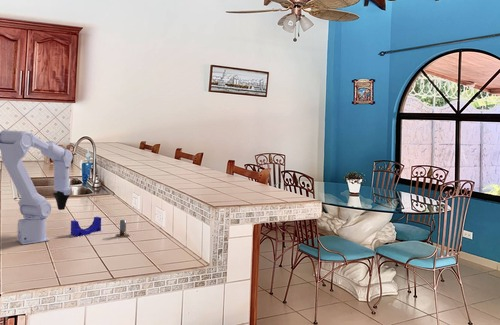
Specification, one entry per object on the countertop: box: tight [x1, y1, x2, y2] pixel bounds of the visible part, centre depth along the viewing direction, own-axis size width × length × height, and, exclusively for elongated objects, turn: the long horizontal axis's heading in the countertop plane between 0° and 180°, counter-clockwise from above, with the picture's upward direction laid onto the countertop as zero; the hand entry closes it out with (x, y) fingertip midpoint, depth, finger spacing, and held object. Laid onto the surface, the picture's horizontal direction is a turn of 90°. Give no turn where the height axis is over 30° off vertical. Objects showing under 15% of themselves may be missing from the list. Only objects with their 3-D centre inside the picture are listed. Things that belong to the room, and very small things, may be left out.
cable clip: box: [70, 216, 102, 237], centre depth 168 cm, size 12×4×6 cm, turn 144°
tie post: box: [115, 219, 130, 239], centre depth 166 cm, size 4×4×7 cm
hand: (61, 209), depth 167 cm, fingers closed
